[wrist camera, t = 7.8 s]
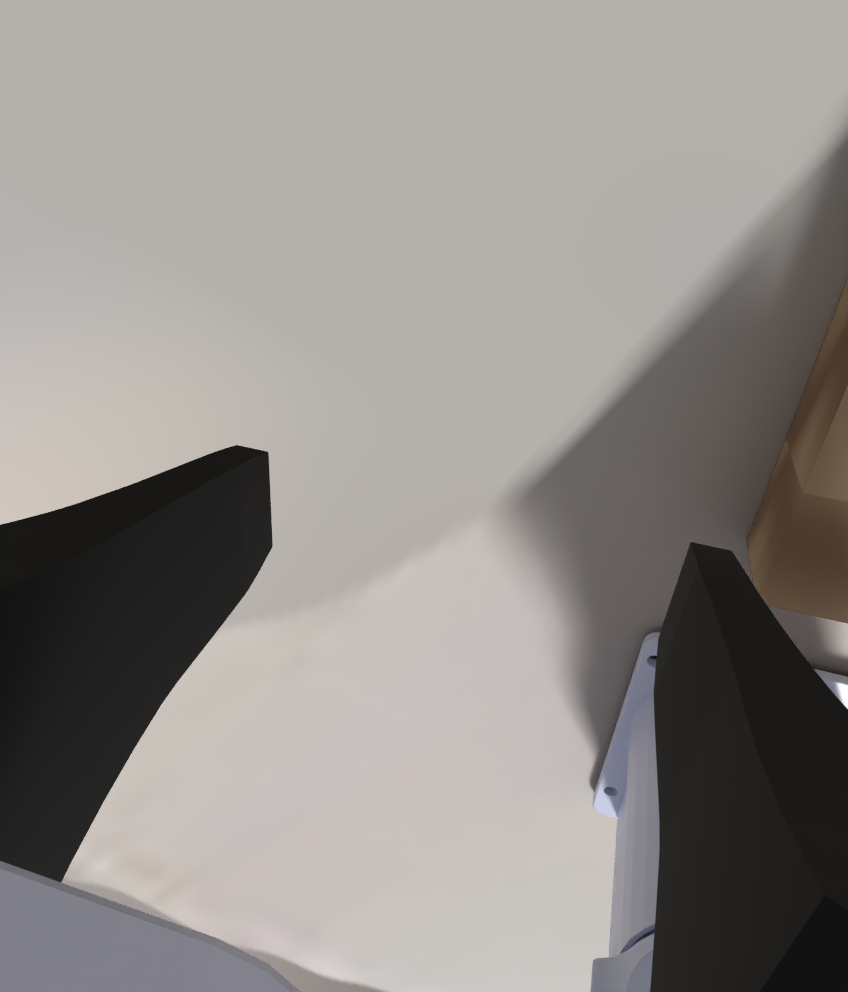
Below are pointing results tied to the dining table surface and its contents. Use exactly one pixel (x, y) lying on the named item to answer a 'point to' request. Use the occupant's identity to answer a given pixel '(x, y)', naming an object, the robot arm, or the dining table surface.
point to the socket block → (810, 495)
